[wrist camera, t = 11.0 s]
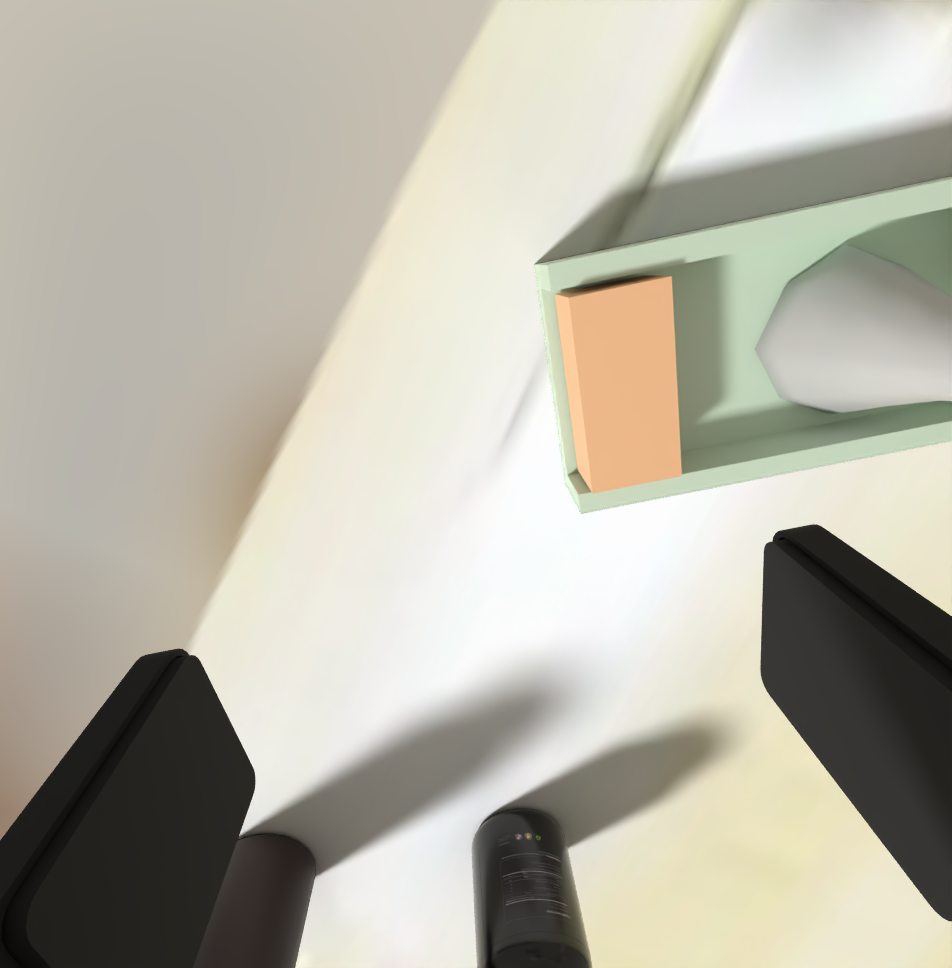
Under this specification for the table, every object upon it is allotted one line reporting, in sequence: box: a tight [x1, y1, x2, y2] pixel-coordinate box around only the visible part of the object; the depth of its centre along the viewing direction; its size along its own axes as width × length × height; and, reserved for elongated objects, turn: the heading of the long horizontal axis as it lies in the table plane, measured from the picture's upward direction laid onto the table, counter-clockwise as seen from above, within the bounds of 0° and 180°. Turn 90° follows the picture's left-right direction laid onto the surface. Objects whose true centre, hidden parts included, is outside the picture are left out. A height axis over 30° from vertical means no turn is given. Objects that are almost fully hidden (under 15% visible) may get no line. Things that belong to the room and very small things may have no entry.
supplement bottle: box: [472, 809, 592, 968], centre depth 33 cm, size 7×7×12 cm
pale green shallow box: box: [534, 176, 952, 514], centre depth 24 cm, size 20×11×4 cm, turn 101°
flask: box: [755, 244, 952, 414], centre depth 20 cm, size 7×7×10 cm
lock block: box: [555, 275, 682, 493], centre depth 23 cm, size 4×8×3 cm, turn 11°
